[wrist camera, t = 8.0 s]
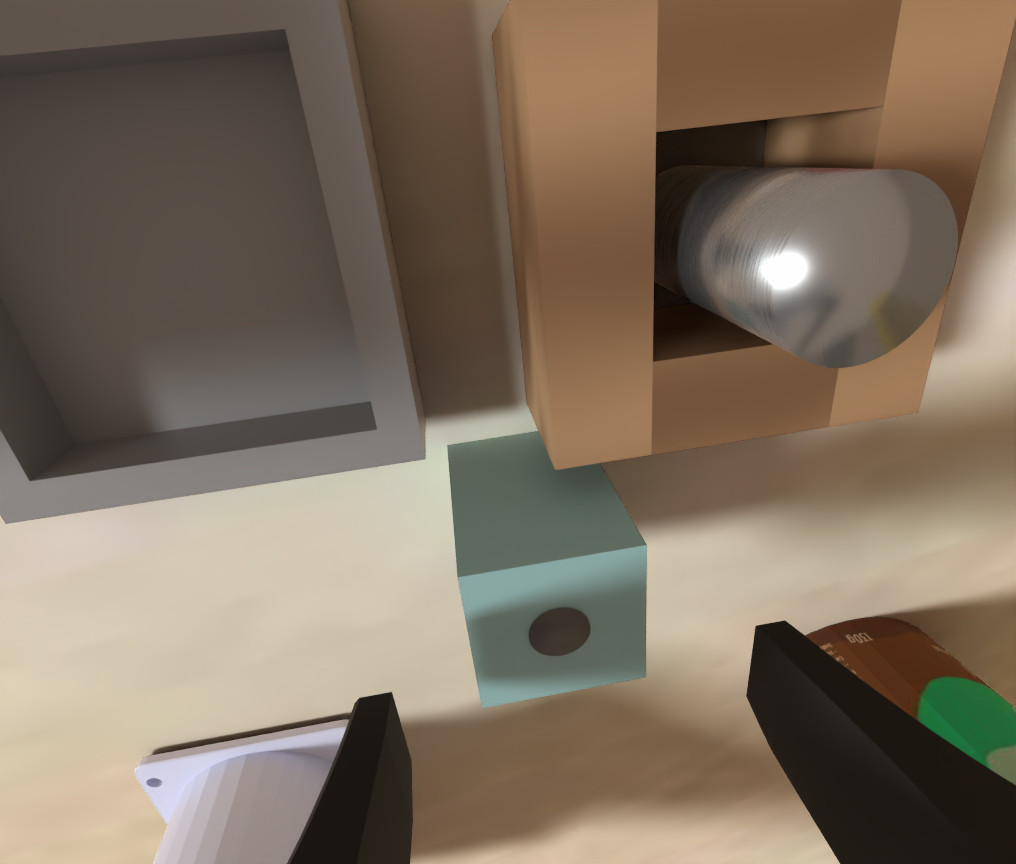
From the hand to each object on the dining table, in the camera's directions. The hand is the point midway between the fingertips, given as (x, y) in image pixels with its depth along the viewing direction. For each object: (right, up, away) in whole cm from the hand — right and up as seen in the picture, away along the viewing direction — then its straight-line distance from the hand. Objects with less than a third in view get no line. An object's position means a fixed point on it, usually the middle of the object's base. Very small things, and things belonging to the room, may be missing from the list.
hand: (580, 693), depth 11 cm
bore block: (+3, +11, +4) cm, 12 cm away
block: (-1, +3, +7) cm, 8 cm away
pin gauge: (+3, +11, +4) cm, 12 cm away
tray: (-9, +9, +3) cm, 13 cm away
